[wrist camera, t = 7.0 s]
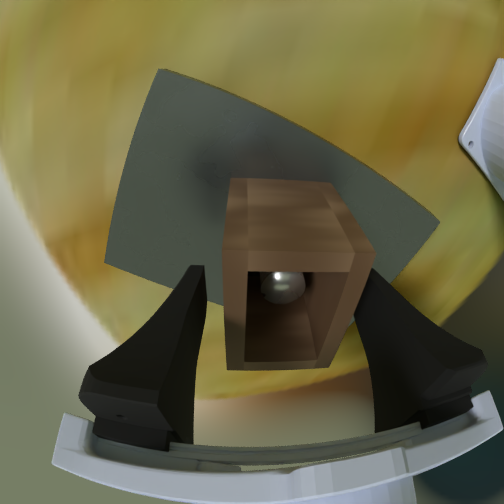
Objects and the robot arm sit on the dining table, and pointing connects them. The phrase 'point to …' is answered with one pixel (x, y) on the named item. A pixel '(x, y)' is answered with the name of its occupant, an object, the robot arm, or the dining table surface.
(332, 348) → the hollow wooden block
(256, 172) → the plate
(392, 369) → the robot arm
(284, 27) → the dining table surface
